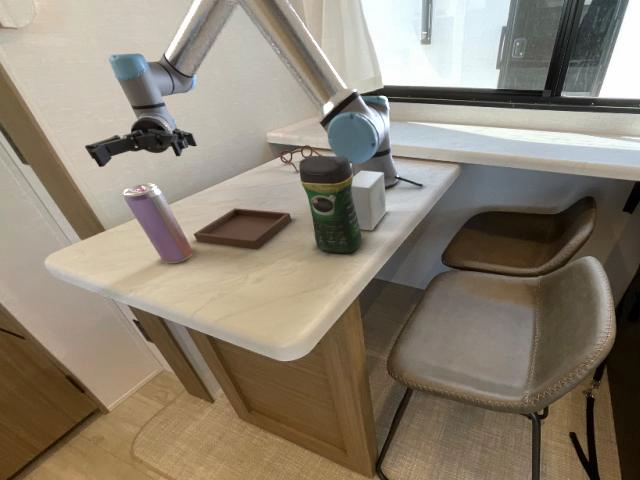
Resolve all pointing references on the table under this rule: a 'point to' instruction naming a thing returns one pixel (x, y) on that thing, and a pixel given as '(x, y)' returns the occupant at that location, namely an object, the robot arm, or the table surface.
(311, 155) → the glasses
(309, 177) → the coffee jar
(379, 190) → the cosmetics box
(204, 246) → the table surface
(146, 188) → the beverage can
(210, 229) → the tray
